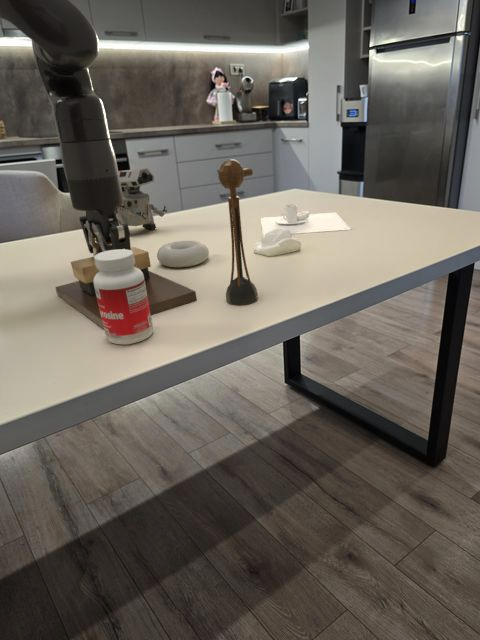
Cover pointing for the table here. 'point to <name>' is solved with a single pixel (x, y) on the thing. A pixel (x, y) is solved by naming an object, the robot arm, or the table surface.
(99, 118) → the robot arm
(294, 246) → the white lumpy piece
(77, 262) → the brush
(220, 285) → the table surface
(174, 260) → the donut
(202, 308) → the table surface
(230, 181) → the wooden tabletop sculpture
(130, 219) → the figurine
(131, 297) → the pill bottle
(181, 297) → the board
